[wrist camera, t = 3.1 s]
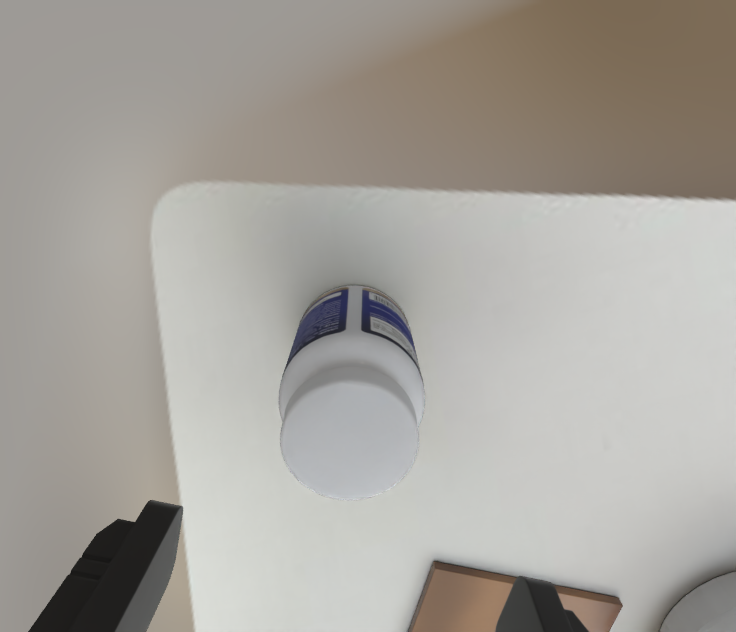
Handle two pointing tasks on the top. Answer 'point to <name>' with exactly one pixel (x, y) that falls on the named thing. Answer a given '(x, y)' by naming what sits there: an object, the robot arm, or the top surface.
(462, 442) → the top surface
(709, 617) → the grey countertop holder stand
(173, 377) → the top surface
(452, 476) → the top surface
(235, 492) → the top surface
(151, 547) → the robot arm
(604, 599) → the coaster
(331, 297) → the pill bottle
